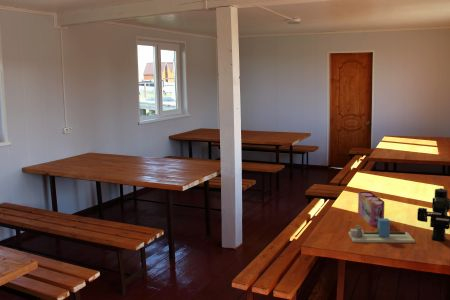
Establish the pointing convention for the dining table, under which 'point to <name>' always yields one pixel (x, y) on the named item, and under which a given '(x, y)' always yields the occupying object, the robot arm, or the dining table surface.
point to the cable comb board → (394, 237)
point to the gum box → (370, 207)
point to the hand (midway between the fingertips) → (437, 222)
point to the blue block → (383, 227)
